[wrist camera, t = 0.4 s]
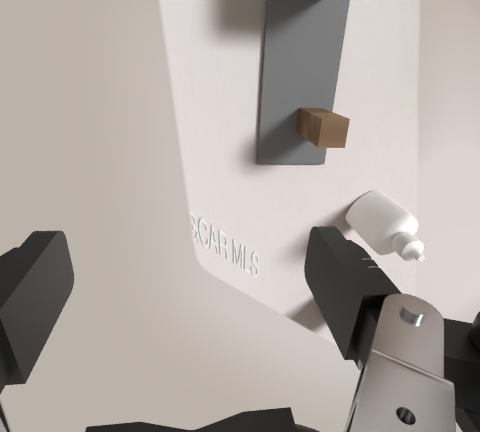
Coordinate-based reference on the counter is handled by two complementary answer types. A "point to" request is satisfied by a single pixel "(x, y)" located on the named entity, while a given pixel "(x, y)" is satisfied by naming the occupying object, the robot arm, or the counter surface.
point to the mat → (298, 74)
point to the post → (322, 127)
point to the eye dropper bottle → (385, 226)
